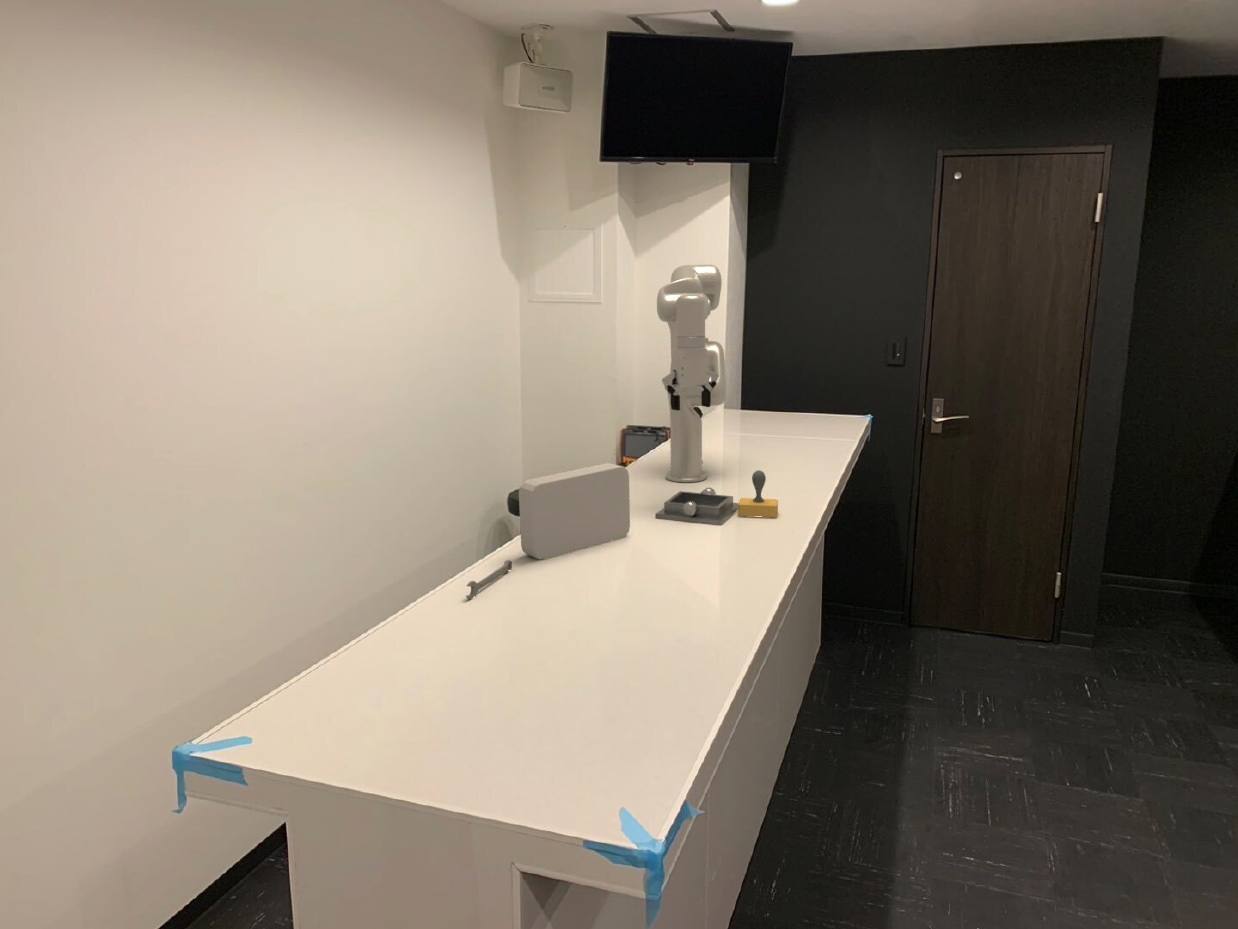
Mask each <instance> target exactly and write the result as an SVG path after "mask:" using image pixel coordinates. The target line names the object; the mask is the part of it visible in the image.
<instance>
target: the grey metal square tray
mask: <svg viewBox="0 0 1238 929" xmlns="http://www.w3.org/2000/svg"><path fill="white" fill-rule="evenodd" d="M663 505H664V506H663V508H661V509H660V510H659V511H657V512H656V513H655V519H661V520H669V521H676V522H677V521H678V522H685V523H686V522H687V523H695V524H697V523H698V524H706V525H716V526H722V525H724V524H723V523H724V522H725V521H726V522H727V521H728V520H730V518H731V517H733V516H734V515H735V514H736V513H737V512H738V511H737V510H738V505H739V502H734V496H732V495H722V494H716V491H715V490H714V488H712V487H706V488H704V489H702V491H701V492H689V491H681V490H680V491H679V492H677V493H676V494H674V495H673V496H671V497H670V498H669V499H667V500H665V502H664V503H663ZM736 511H737V512H736ZM735 512H736V513H735ZM734 513H735V514H734ZM733 514H734V515H733ZM726 522H725V523H726Z"/></svg>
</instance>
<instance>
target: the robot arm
mask: <svg viewBox="0 0 1238 929" xmlns="http://www.w3.org/2000/svg"><path fill="white" fill-rule="evenodd" d="M722 282H723V279H722V274H721V272H720V269H719V268H718V267H717V266H716V265H714V264H685V265H681V266H678V267H676V268H675V269H674V270H673V271H672V273H671V276H670V283H667V284H665V285H663V286H662V287H661V288H659V291H658V293H657V297H656V312H657V316H658V318H659V320H660V321H662V322H665V323H667V326H668V328H669V332H670V358H671V360H670V361H671V362H670V369H669V370H670V372H669V374H667V375H666V376H664V377H663V378H662V379H661V382H662V384H663V386H664V389H665V391H666V392H667V399H668V404H669V405H668V406H669V421H670V422H669V425H670V426H669V427H670V430H669V431H670V433H669V434H670V435H669V436H670V438H669V439H670V444H669V445H670V471H667V472H666V473H665V478H666V480H668V481H672V482H677V483H697V482H702V481H705V480H706V479H707V478H708V473H707V472H706V471H704V470H703V465H704V461H703V421H702V418H701V416H700V415H699V413H698V412H697V411H696V410H695V409H694V407H705V408H710V407H714V406H716V407H717V406H721V405H722V404H724V402H726V399H727V398H726V397H727V380H726V379H727V378H726V376H727V375H726V363H725V362H726V360H725V351H724V348H723V345H722V344H721V343H720V342H718V341H713V340H709V338H708V337H706V320H707V319H708V317H709V316H710V315H711V311H715V310H717V308H718V307H719V305H720V298H721V292H722V284H723V283H722Z"/></svg>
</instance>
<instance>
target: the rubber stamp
mask: <svg viewBox="0 0 1238 929" xmlns="http://www.w3.org/2000/svg"><path fill="white" fill-rule="evenodd" d="M766 479H767V477H766V474H765V472H764V471H762V470H756V471H754V472H753V474H752V478H751V481H752V484H753V486H754V487H753V488H754V490H755V494H756V496H755V497H754V498H748V497H741V498H739V501H738V503H739V505H738V511H737V512H738V514H737V515H738V516H762V517H777V518H778V514H777V513H778V510H779V508H778V507H779V499H777V498H775V499H773V498H763V497H762V492H763V488H764V486H765V483H766V481H767V480H766Z"/></svg>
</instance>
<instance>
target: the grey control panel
mask: <svg viewBox="0 0 1238 929" xmlns="http://www.w3.org/2000/svg"><path fill="white" fill-rule="evenodd" d="M518 505H519V528H520V544H521V545H520V547H521V550H522V552H523V553H525V555H528V556H529V557H531V558H534V559H536V560H541V559H544V560H546V559H545V558H547V559H551V558H554V556H555V557H558V556H561V554H562V555H564V553H566V554H568V552H569V553H572V551H573V552H575V551H576V550H577V551H581V550H583V548H584V549H587V547H588V548H591V547H594V546H598V545H601V544H606V543H609V542H612V541H611V540H613V541H617V540H619V539H623V538H625V537H626V536H627V535H628V534H629V532H630V528H631V516H630V514H631V512H630V508H631V506H630V505H631V504H630V474H629V470H628V469H627V468H626V467H625V466H622V465H618V464H614V463H610V462H606V463H603V464H602V463H600V464H596V465H591V466H587V467H582V468H578V469H573V470H568V471H564V472H558V473H553V474H549V475H543V476H540V477H534V478H530V479H527V480H525V481H522V483H521V485H520V486H519V489H518ZM590 546H591V547H590ZM557 555H558V556H557Z"/></svg>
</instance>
